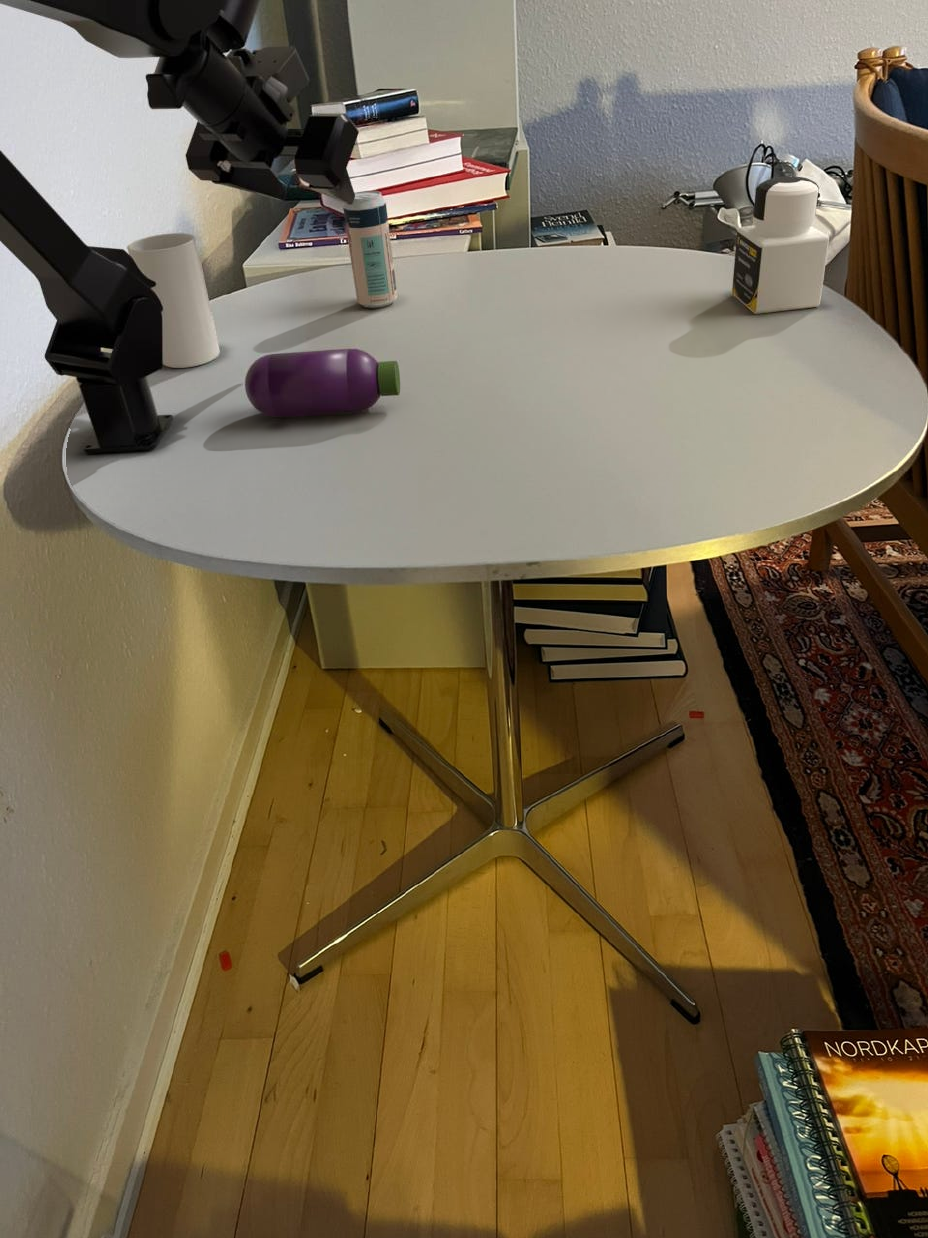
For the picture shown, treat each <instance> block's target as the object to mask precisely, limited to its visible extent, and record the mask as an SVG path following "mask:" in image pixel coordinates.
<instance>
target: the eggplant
mask: <svg viewBox="0 0 928 1238" xmlns="http://www.w3.org/2000/svg"><path fill="white" fill-rule="evenodd" d="M244 389H245V393H246V396H247V399H248V401H249V402H250V404H251V405H252V406H253V407H254V409H256V410H257V411H258V412H259V413H261V414H263V415H265V416H269V417H273V418H291V417H305V416H308V417H309V416H322V415H323V416H324V415H338V414H356V413H362V412H364V411H368V409H370V408H371V407H373V406H374V405H376V403H377V402H378V401H379V399H380V398H381V397H390V396H391V397H393V396H400V394H401V376H400V367H399V363H398V361H397V360H387V361H377V359H376V358H375V357H374V356H373V355H371V354H370V353H368V352H366V351H365V350H362V349H358V348H339V349H325V350H323V349H322V350H309V351H295V352H279V353H270V354H266V355H263V356H261V357H258V358H257V359H256V360H254V362H253V363H252V364H251V365H250V367H249V368H248V370H247V372H246V374H245V379H244Z"/></svg>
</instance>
